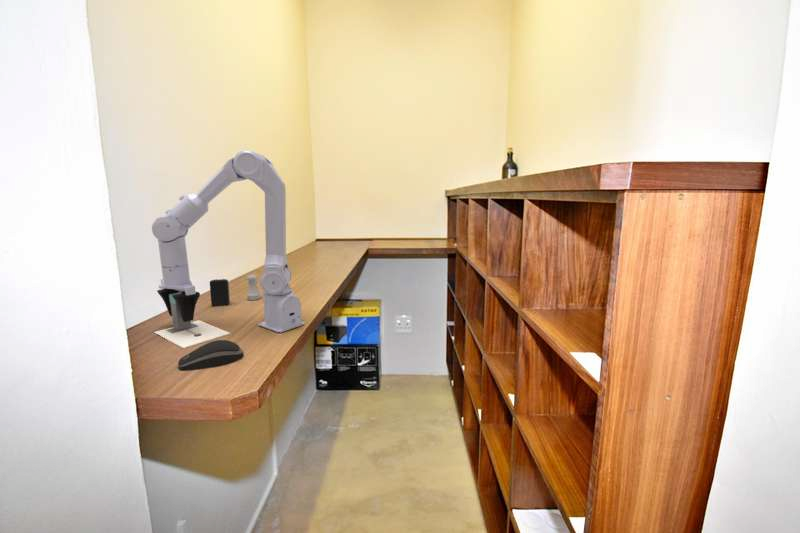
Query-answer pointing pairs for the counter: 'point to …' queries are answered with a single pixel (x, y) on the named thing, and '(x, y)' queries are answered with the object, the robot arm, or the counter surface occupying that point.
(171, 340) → the paper sheet
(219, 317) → the counter surface
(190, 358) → the computer mouse
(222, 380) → the counter surface
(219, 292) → the ink cartridge
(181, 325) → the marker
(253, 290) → the rook chess piece
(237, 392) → the counter surface
